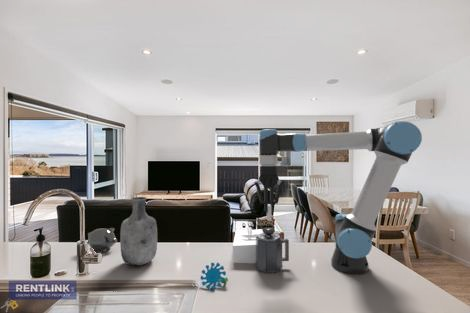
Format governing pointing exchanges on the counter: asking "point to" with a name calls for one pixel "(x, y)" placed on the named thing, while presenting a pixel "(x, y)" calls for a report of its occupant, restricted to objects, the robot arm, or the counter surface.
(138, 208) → the vase
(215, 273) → the gear
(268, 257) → the carafe
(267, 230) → the plunger
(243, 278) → the counter surface
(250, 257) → the tissue box
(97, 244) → the piggy bank
